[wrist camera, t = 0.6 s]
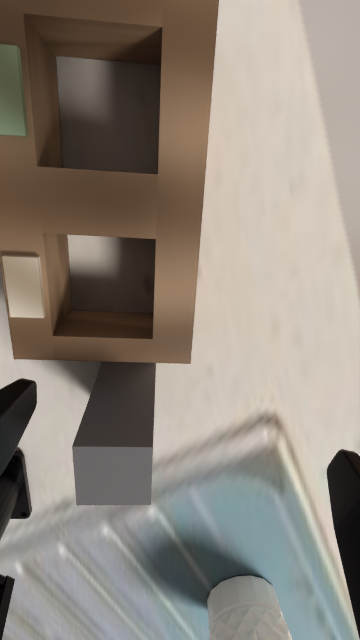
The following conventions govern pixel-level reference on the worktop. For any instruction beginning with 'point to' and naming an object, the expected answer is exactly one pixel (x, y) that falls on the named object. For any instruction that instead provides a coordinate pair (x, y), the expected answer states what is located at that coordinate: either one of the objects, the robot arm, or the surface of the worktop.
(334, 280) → the worktop surface
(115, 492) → the plug
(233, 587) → the white cup
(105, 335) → the socket block
